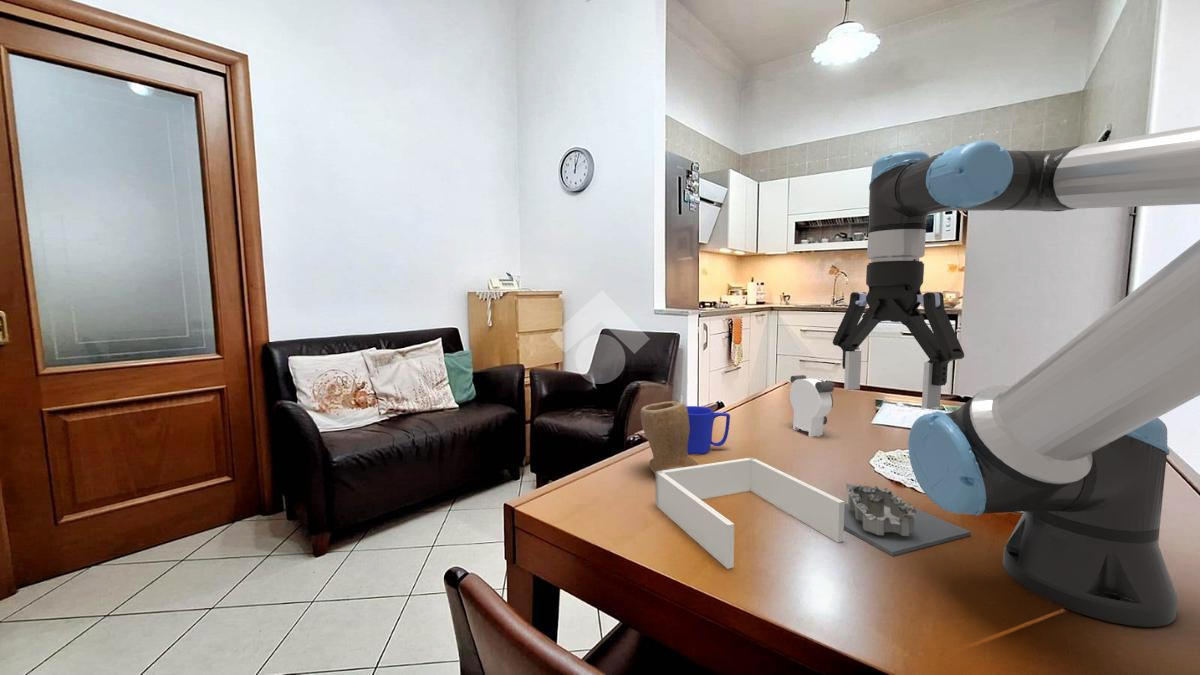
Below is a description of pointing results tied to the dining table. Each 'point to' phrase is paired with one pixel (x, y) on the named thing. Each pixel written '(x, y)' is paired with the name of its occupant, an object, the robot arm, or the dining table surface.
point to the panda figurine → (810, 403)
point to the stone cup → (667, 435)
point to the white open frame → (711, 529)
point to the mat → (923, 535)
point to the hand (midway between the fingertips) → (888, 397)
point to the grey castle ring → (881, 510)
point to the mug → (703, 429)
